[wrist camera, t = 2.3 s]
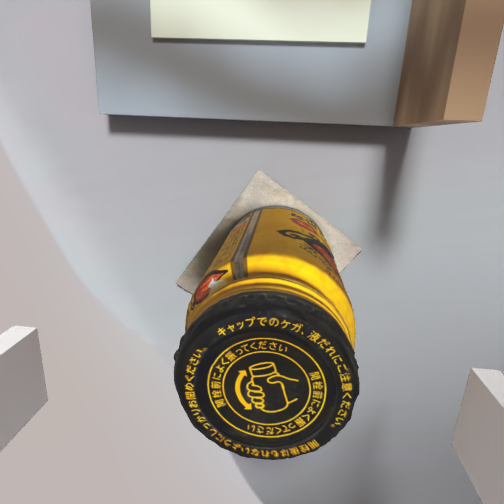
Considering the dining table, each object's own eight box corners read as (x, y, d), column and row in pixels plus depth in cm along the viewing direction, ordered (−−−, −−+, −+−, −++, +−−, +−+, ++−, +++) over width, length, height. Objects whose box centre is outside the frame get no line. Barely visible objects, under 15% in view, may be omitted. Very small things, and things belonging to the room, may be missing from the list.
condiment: (361, 248, 21) (452, 384, 9) (270, 348, 23) (252, 553, 12) (259, 168, 20) (219, 209, 8) (176, 280, 22) (58, 430, 11)
